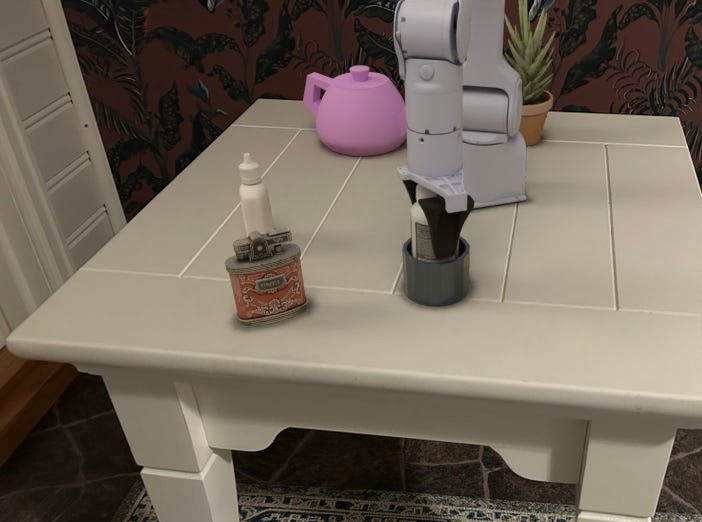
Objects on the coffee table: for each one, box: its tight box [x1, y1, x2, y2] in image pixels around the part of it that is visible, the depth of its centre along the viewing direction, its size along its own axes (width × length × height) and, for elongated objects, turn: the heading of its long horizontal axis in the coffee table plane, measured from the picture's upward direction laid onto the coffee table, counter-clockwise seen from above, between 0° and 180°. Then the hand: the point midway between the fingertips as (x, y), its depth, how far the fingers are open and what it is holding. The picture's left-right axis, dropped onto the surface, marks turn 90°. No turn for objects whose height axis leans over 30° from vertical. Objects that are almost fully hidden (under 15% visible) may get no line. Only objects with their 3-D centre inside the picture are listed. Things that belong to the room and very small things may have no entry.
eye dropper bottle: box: [238, 152, 275, 238], centre depth 92 cm, size 4×6×12 cm
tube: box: [401, 236, 471, 307], centre depth 85 cm, size 8×8×6 cm
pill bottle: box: [409, 184, 459, 263], centre depth 81 cm, size 5×5×10 cm
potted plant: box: [502, 0, 556, 147], centre depth 116 cm, size 10×10×25 cm
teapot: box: [302, 64, 407, 157], centre depth 119 cm, size 22×16×12 cm
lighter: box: [224, 227, 310, 328], centre depth 79 cm, size 8×3×10 cm, turn 117°
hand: (436, 243), depth 83 cm, fingers closed on pill bottle, 5 cm apart
